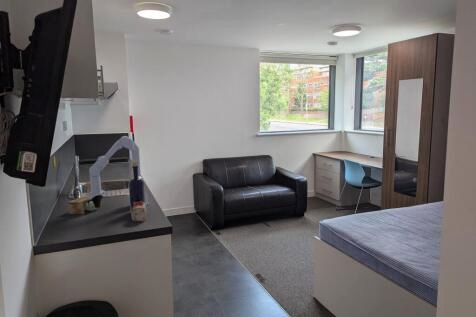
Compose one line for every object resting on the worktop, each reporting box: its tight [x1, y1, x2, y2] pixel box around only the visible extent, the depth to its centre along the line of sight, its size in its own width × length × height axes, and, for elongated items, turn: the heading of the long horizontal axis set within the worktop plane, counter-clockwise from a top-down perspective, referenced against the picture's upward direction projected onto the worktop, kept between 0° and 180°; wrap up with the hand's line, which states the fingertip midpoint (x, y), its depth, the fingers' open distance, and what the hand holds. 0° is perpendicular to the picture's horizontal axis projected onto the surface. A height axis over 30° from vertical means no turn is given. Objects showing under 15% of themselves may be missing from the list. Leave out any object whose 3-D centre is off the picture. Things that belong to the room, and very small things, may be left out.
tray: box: [84, 201, 99, 211], centre depth 208 cm, size 9×5×4 cm, turn 81°
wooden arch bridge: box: [68, 193, 103, 215], centre depth 208 cm, size 9×19×7 cm, turn 170°
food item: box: [130, 201, 148, 223], centre depth 187 cm, size 14×8×10 cm, turn 15°
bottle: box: [128, 161, 145, 214], centre depth 198 cm, size 9×9×30 cm
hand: (97, 207), depth 207 cm, fingers closed, pressing on tray
